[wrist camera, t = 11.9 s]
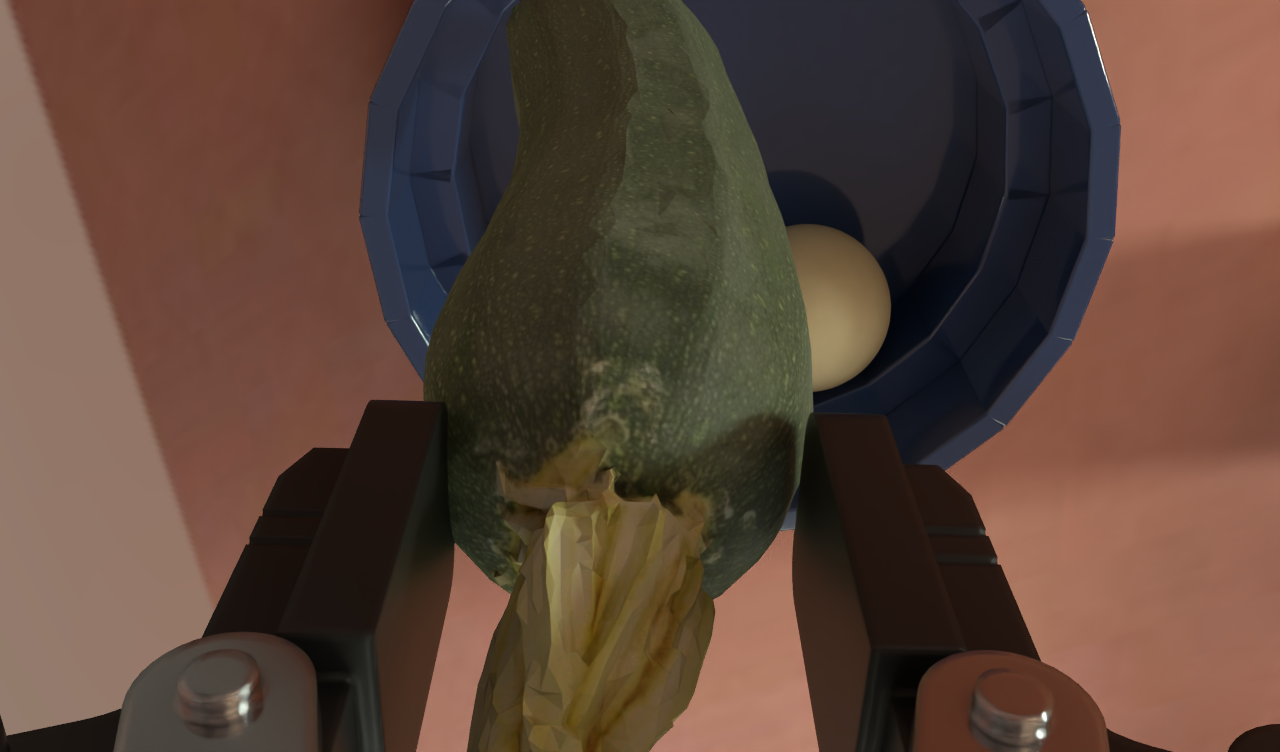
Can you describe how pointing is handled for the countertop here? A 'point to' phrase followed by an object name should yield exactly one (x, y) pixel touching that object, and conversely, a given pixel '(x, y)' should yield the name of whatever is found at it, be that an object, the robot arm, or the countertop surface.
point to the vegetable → (618, 376)
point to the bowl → (819, 179)
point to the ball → (839, 302)
